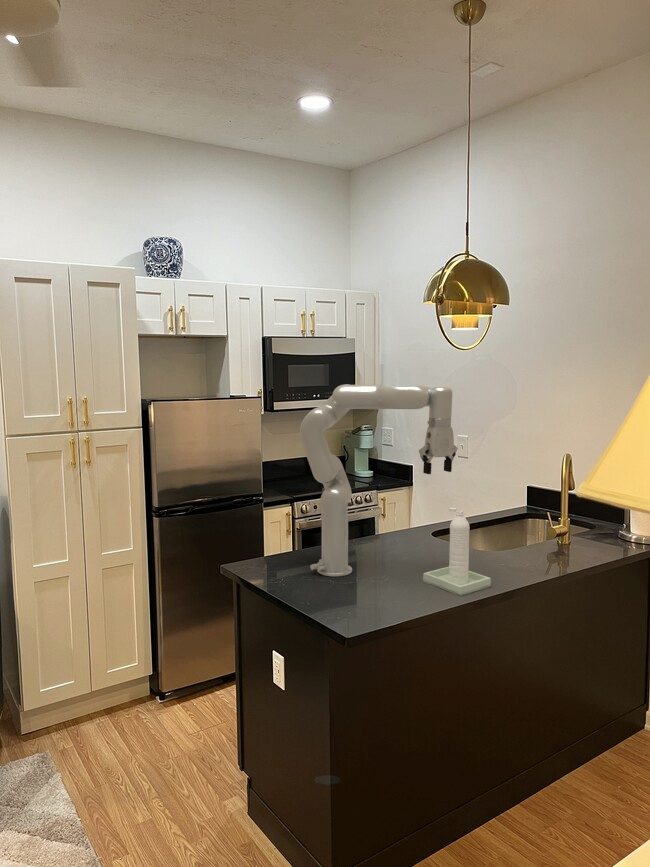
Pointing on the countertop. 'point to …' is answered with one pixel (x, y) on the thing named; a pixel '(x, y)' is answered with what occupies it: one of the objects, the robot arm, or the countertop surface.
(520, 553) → the countertop surface
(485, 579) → the tray
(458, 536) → the water bottle
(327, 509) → the robot arm
